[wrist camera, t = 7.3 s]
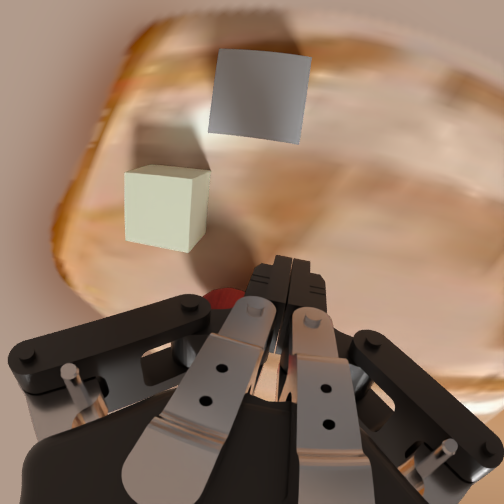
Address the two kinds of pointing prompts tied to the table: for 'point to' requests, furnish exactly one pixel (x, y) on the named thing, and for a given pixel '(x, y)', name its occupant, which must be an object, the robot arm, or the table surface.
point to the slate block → (259, 94)
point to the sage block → (166, 206)
